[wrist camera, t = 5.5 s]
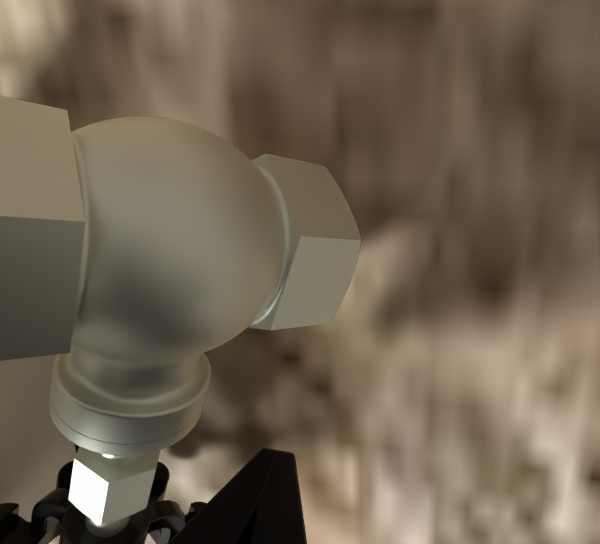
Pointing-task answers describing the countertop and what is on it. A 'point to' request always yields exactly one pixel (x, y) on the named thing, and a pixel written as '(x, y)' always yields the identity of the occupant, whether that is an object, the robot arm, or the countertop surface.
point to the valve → (147, 293)
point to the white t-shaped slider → (29, 434)
